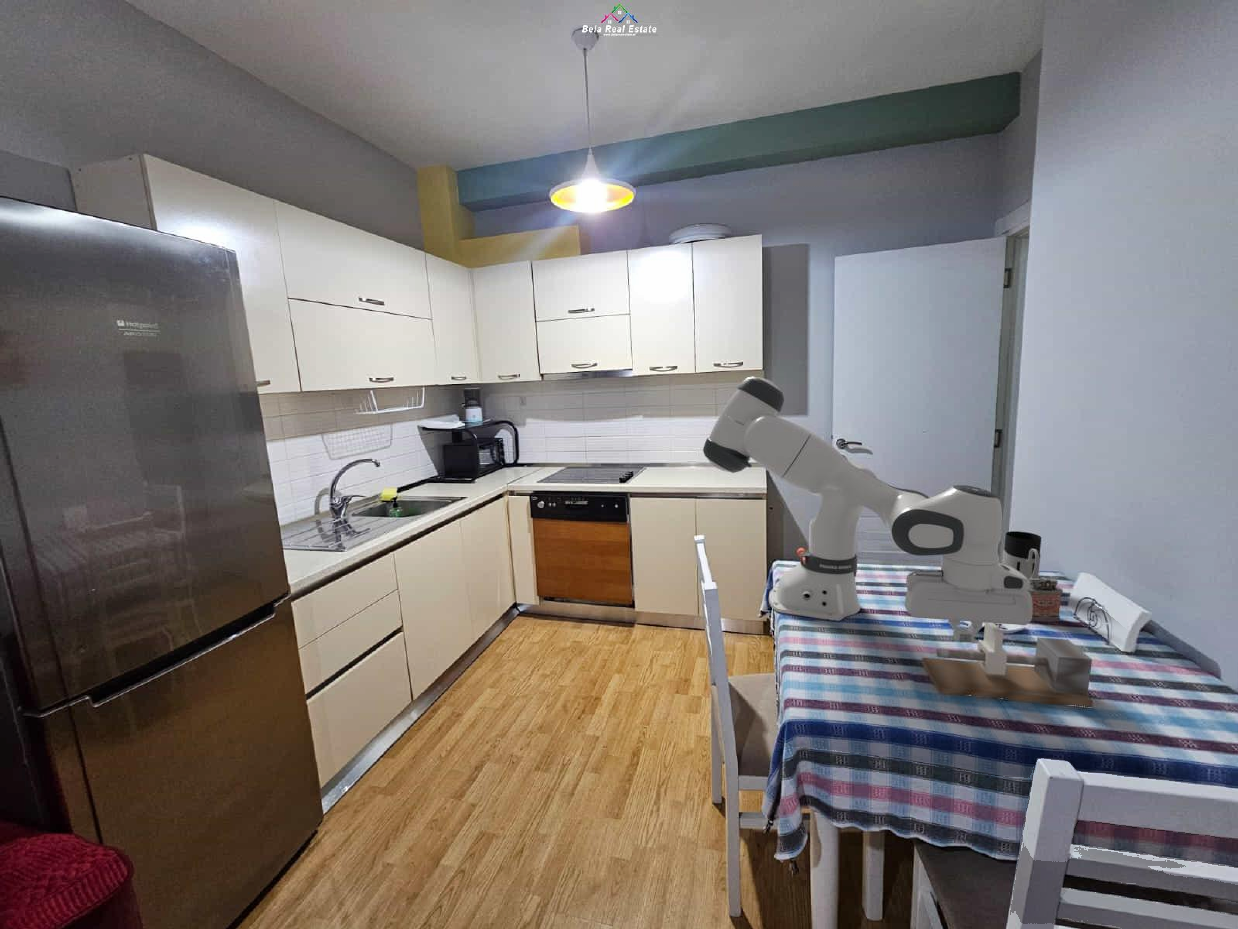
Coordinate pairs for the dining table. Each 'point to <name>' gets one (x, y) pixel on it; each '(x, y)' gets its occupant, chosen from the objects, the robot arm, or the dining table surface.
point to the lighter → (1045, 599)
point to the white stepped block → (992, 650)
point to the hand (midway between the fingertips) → (963, 640)
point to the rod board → (1018, 674)
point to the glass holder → (1022, 553)
